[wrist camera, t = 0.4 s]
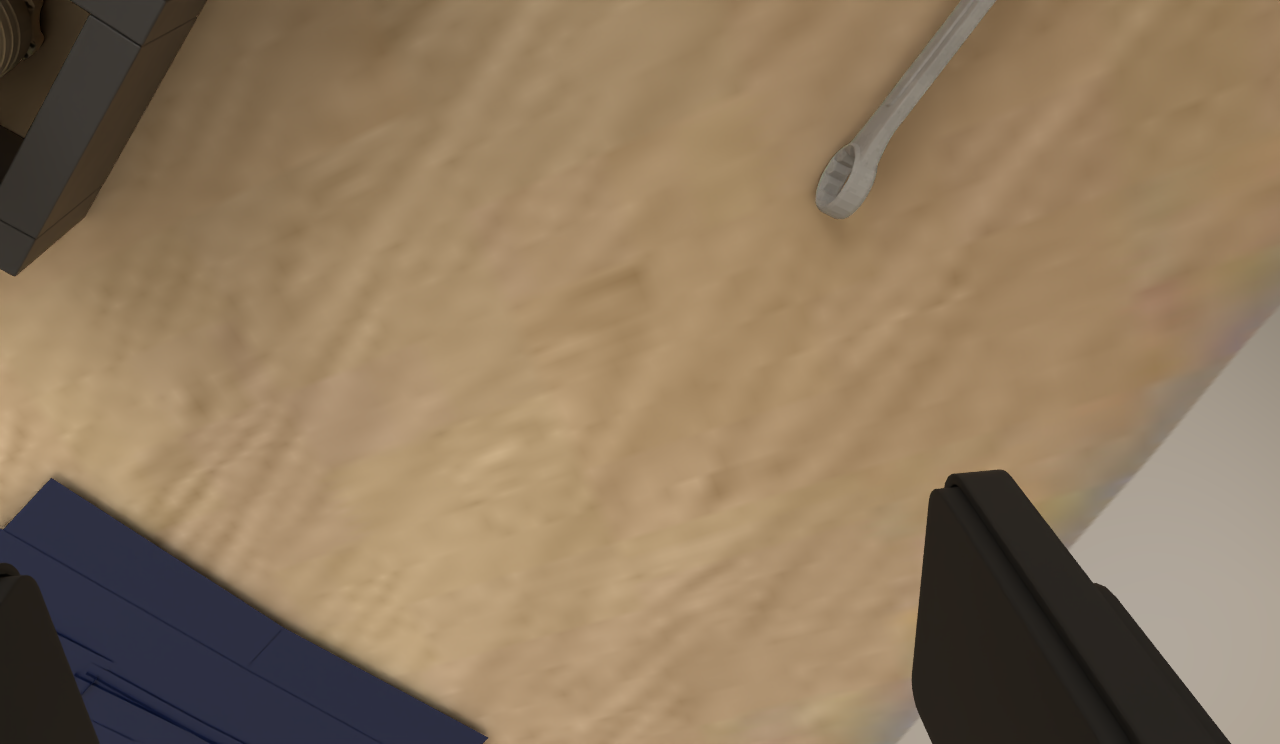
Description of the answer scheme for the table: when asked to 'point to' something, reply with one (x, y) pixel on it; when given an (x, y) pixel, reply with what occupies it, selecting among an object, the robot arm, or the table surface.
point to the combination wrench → (892, 115)
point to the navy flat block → (193, 647)
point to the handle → (18, 31)
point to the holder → (85, 121)
